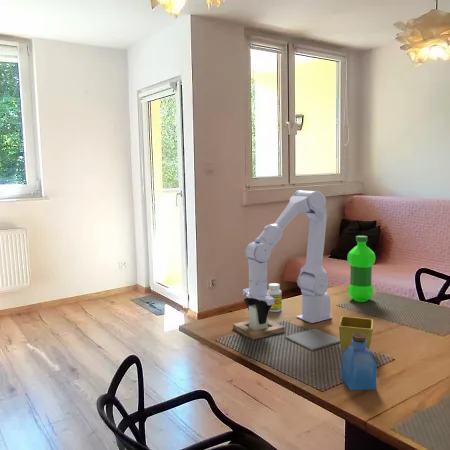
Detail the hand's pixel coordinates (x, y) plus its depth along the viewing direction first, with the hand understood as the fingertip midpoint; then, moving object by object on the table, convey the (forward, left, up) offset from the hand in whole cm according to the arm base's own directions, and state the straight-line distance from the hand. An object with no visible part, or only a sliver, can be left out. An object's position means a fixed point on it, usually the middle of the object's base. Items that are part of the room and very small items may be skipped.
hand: (258, 321), depth 147 cm
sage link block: (0, 0, -3) cm, 3 cm away
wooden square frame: (0, 0, -3) cm, 3 cm away
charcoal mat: (-9, +16, -3) cm, 19 cm away
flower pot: (-12, +30, -3) cm, 32 cm away
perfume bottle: (+1, +43, -3) cm, 43 cm away
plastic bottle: (-52, -5, -3) cm, 52 cm away
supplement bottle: (-17, -14, -3) cm, 22 cm away
